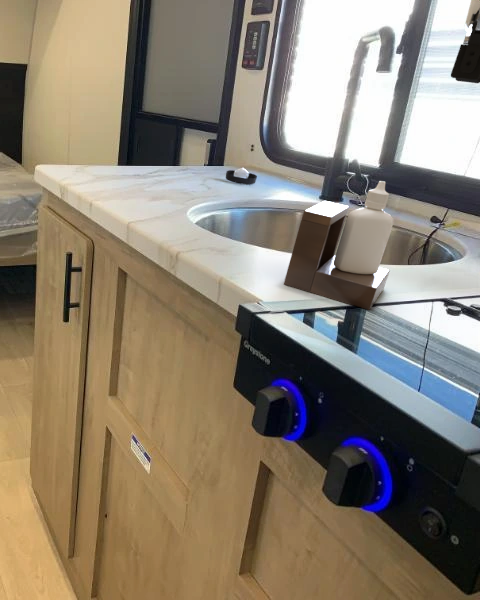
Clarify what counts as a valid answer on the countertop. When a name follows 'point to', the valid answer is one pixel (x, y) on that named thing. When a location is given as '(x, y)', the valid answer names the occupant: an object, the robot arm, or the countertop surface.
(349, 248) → the eye dropper bottle
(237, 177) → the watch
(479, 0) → the robot arm
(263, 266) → the countertop surface
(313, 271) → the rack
